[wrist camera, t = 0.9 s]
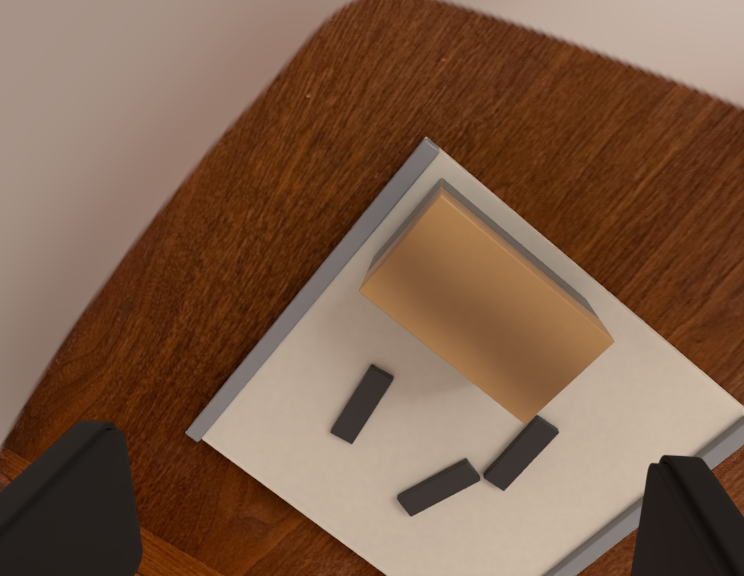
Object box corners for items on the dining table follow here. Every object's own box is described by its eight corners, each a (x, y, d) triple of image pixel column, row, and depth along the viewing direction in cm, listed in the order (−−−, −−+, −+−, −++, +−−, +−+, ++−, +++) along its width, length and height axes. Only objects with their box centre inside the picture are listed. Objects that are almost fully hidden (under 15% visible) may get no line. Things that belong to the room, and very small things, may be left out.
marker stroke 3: (536, 413, 27) (537, 418, 27) (558, 428, 27) (559, 432, 27) (482, 473, 28) (483, 478, 28) (503, 486, 28) (504, 492, 28)
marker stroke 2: (466, 457, 28) (466, 462, 28) (480, 476, 28) (480, 481, 28) (397, 494, 29) (396, 499, 29) (411, 512, 29) (410, 517, 29)
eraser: (441, 176, 24) (440, 194, 20) (587, 299, 25) (615, 341, 21) (372, 258, 26) (357, 291, 21) (512, 371, 26) (525, 425, 22)
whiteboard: (425, 135, 25) (424, 138, 23) (749, 411, 27) (765, 428, 25) (195, 418, 30) (184, 433, 29) (478, 628, 32) (479, 651, 31)
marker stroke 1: (371, 363, 27) (370, 367, 27) (394, 376, 27) (393, 380, 27) (331, 428, 28) (329, 433, 28) (353, 440, 28) (352, 445, 28)
